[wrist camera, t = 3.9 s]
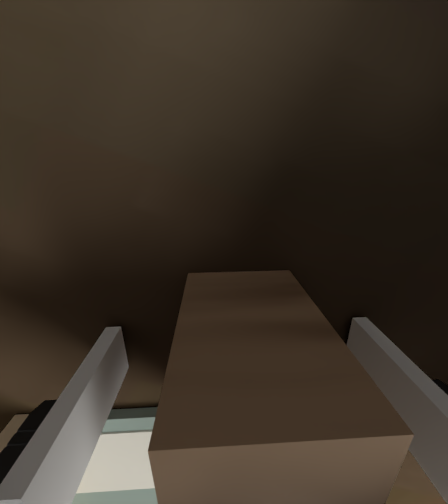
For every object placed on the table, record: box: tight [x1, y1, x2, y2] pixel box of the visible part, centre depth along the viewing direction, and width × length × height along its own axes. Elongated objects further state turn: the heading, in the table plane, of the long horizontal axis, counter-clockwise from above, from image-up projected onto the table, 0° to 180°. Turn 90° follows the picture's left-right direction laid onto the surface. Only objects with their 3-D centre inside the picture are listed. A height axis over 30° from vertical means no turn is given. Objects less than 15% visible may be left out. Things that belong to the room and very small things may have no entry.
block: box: [148, 270, 414, 504], centre depth 9 cm, size 8×5×8 cm, turn 0°
